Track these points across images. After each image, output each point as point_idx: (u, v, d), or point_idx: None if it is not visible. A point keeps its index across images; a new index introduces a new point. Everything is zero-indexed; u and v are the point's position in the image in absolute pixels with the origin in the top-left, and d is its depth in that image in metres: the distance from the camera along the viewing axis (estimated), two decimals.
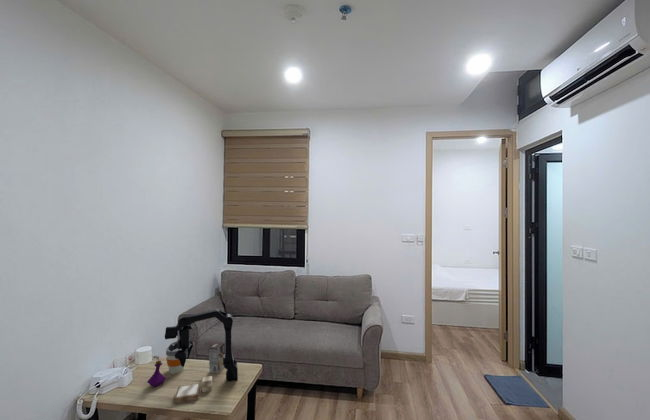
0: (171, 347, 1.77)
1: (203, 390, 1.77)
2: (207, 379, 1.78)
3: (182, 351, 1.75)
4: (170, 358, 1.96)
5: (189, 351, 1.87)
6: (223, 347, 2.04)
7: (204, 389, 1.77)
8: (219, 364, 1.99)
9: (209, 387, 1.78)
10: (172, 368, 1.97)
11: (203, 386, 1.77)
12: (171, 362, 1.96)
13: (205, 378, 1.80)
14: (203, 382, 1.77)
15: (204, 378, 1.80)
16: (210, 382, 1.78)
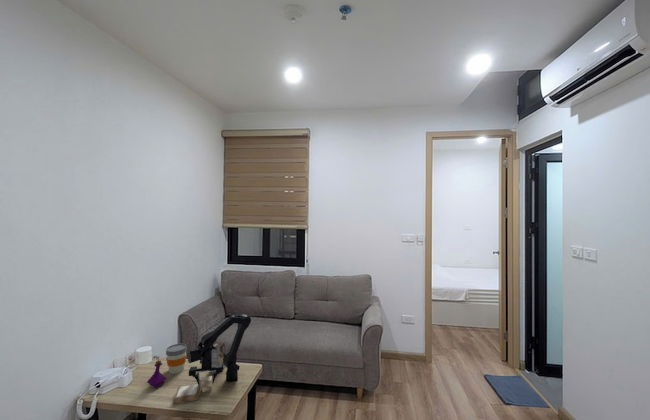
0: (200, 360, 1.84)
1: (203, 390, 1.77)
2: (207, 379, 1.78)
3: (192, 369, 1.77)
4: (170, 358, 1.96)
5: (213, 376, 1.79)
6: (223, 347, 2.04)
7: (204, 389, 1.77)
8: None
9: (209, 387, 1.78)
10: (172, 368, 1.97)
11: (203, 386, 1.77)
12: (171, 362, 1.96)
13: (205, 378, 1.80)
14: (203, 382, 1.77)
15: (204, 378, 1.80)
16: (210, 382, 1.78)
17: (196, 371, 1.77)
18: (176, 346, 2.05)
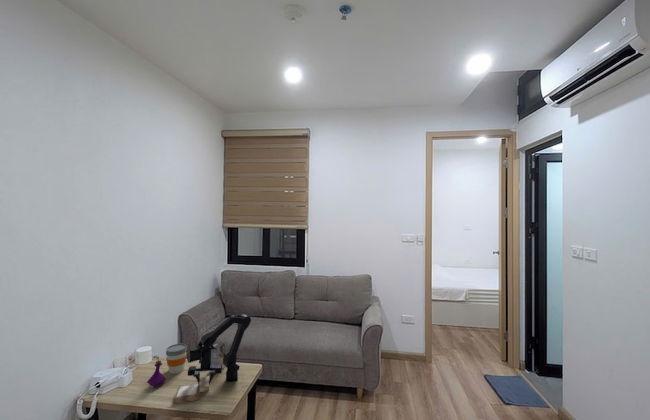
0: (199, 360, 1.84)
1: (200, 390, 1.76)
2: (204, 380, 1.78)
3: (191, 368, 1.77)
4: (170, 358, 1.96)
5: (210, 377, 1.79)
6: (223, 347, 2.04)
7: (201, 389, 1.76)
8: None
9: (206, 387, 1.77)
10: (172, 368, 1.97)
11: (200, 386, 1.76)
12: (171, 362, 1.96)
13: (202, 378, 1.79)
14: (200, 382, 1.76)
15: (201, 378, 1.79)
16: (207, 382, 1.77)
17: (197, 371, 1.77)
18: (176, 346, 2.05)
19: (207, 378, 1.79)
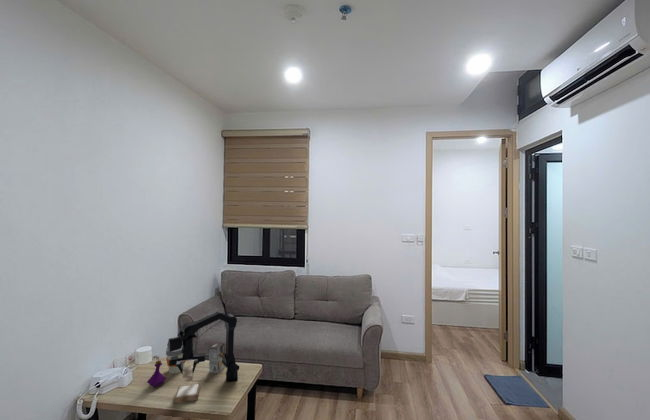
0: None
1: (183, 380, 1.70)
2: (188, 369, 1.72)
3: (173, 358, 1.71)
4: (170, 358, 1.96)
5: (193, 366, 1.73)
6: (223, 347, 2.04)
7: (185, 379, 1.71)
8: (219, 364, 1.99)
9: (190, 377, 1.71)
10: (172, 368, 1.97)
11: (183, 376, 1.70)
12: None
13: (186, 368, 1.74)
14: (183, 372, 1.70)
15: (184, 368, 1.74)
16: (191, 372, 1.72)
17: (179, 360, 1.71)
18: None
19: (191, 368, 1.74)
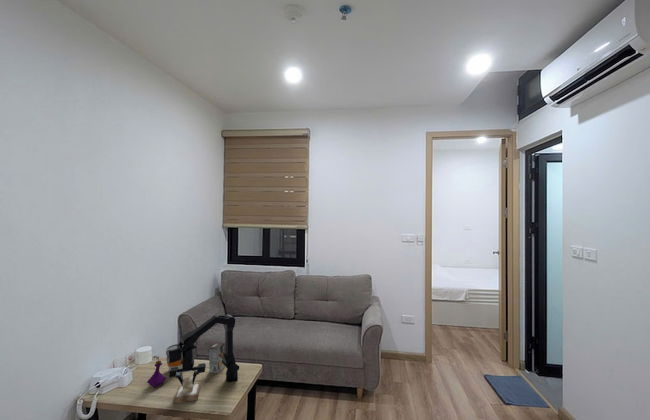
0: (181, 360, 1.78)
1: (183, 391, 1.70)
2: (188, 380, 1.72)
3: (172, 370, 1.70)
4: None
5: (193, 377, 1.73)
6: (223, 347, 2.04)
7: (185, 390, 1.70)
8: (219, 364, 1.99)
9: (190, 388, 1.71)
10: None
11: (183, 387, 1.70)
12: None
13: (186, 379, 1.73)
14: (183, 383, 1.70)
15: (185, 379, 1.73)
16: (191, 383, 1.71)
17: (179, 371, 1.71)
18: (176, 346, 2.05)
19: (191, 378, 1.74)
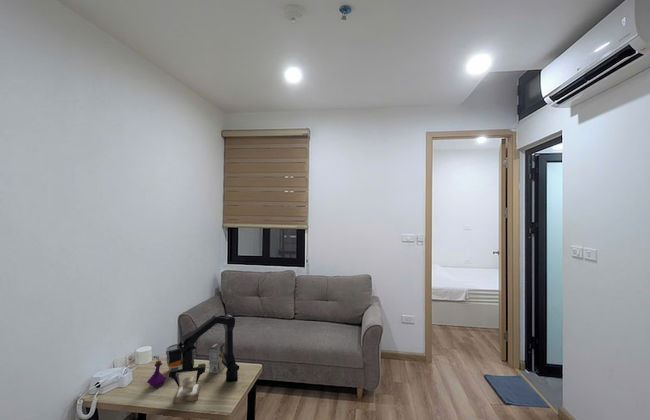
0: (181, 361, 1.78)
1: (183, 391, 1.70)
2: (188, 380, 1.72)
3: (172, 370, 1.70)
4: None
5: (196, 377, 1.73)
6: (223, 347, 2.04)
7: (185, 390, 1.70)
8: (219, 364, 1.99)
9: (190, 388, 1.71)
10: None
11: (183, 387, 1.70)
12: None
13: (186, 379, 1.73)
14: (183, 383, 1.70)
15: (185, 379, 1.73)
16: (191, 383, 1.71)
17: None
18: (176, 346, 2.05)
19: (191, 379, 1.74)
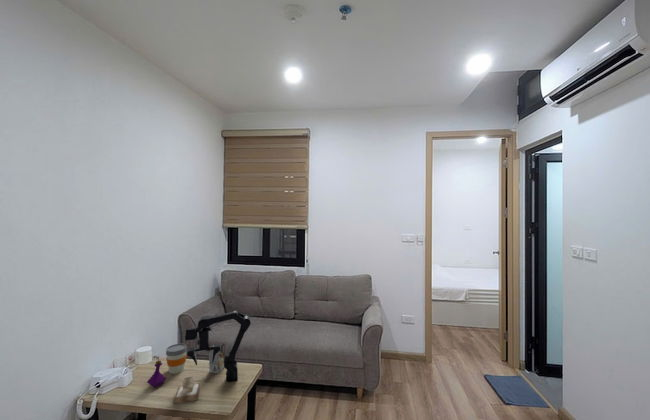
0: None
1: (183, 391, 1.70)
2: (188, 380, 1.72)
3: (190, 349, 1.83)
4: (170, 358, 1.96)
5: None
6: (223, 347, 2.04)
7: (185, 390, 1.70)
8: (219, 364, 1.99)
9: (190, 388, 1.71)
10: (172, 368, 1.97)
11: (183, 387, 1.70)
12: (171, 362, 1.96)
13: (186, 379, 1.73)
14: (183, 383, 1.70)
15: (185, 379, 1.73)
16: (191, 383, 1.71)
17: None
18: (176, 346, 2.05)
19: (191, 379, 1.74)
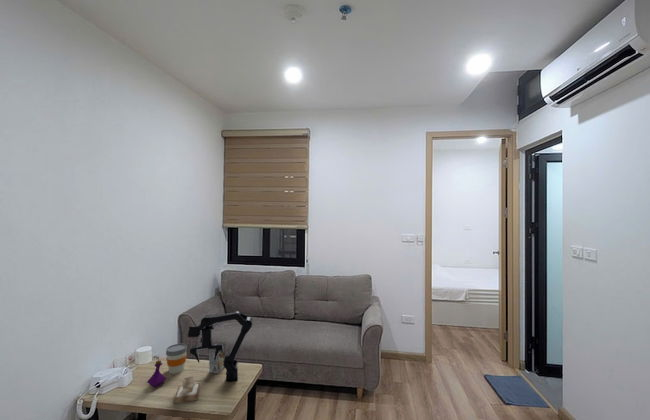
0: None
1: (183, 391, 1.70)
2: (188, 380, 1.72)
3: (193, 347, 1.85)
4: (170, 358, 1.96)
5: None
6: (223, 347, 2.04)
7: (185, 390, 1.70)
8: (219, 364, 1.99)
9: (190, 388, 1.71)
10: (172, 368, 1.97)
11: (183, 387, 1.70)
12: (171, 362, 1.96)
13: (186, 379, 1.73)
14: (183, 383, 1.70)
15: (185, 379, 1.73)
16: (191, 383, 1.71)
17: None
18: (176, 346, 2.05)
19: (191, 379, 1.74)
